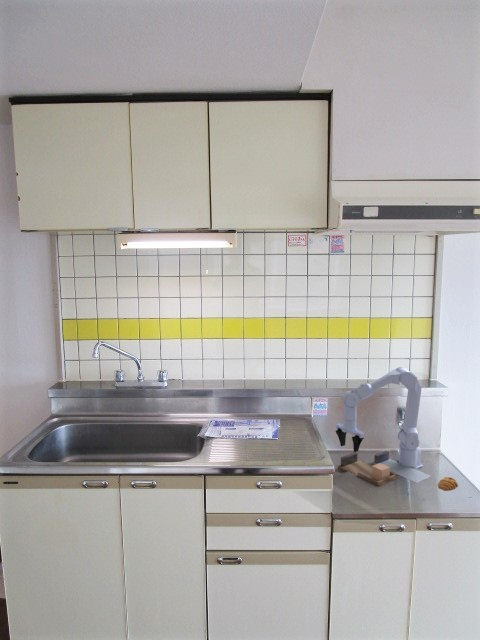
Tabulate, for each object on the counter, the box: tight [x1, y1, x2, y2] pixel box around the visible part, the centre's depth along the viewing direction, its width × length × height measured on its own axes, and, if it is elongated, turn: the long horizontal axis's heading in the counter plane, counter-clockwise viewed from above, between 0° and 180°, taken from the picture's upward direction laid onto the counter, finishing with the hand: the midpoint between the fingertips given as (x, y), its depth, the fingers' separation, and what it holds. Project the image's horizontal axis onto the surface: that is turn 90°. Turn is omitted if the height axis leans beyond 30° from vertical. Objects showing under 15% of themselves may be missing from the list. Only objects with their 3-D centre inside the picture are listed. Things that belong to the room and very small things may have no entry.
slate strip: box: [372, 450, 432, 484], centre depth 184 cm, size 10×22×5 cm, turn 34°
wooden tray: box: [337, 451, 399, 487], centre depth 183 cm, size 12×22×5 cm, turn 34°
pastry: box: [437, 476, 459, 492], centre depth 170 cm, size 9×7×4 cm
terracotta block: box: [371, 463, 391, 481], centre depth 177 cm, size 5×5×5 cm
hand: (349, 448), depth 190 cm, fingers open, 7 cm apart
